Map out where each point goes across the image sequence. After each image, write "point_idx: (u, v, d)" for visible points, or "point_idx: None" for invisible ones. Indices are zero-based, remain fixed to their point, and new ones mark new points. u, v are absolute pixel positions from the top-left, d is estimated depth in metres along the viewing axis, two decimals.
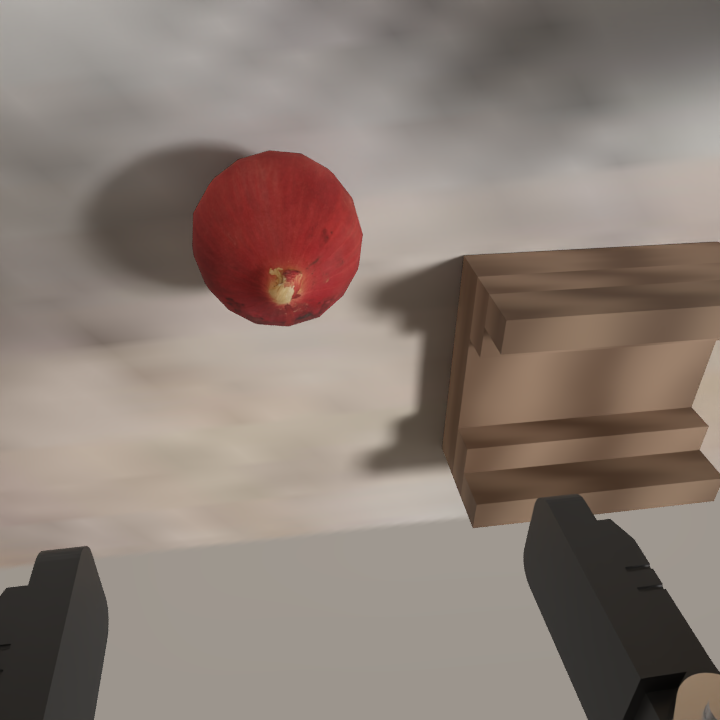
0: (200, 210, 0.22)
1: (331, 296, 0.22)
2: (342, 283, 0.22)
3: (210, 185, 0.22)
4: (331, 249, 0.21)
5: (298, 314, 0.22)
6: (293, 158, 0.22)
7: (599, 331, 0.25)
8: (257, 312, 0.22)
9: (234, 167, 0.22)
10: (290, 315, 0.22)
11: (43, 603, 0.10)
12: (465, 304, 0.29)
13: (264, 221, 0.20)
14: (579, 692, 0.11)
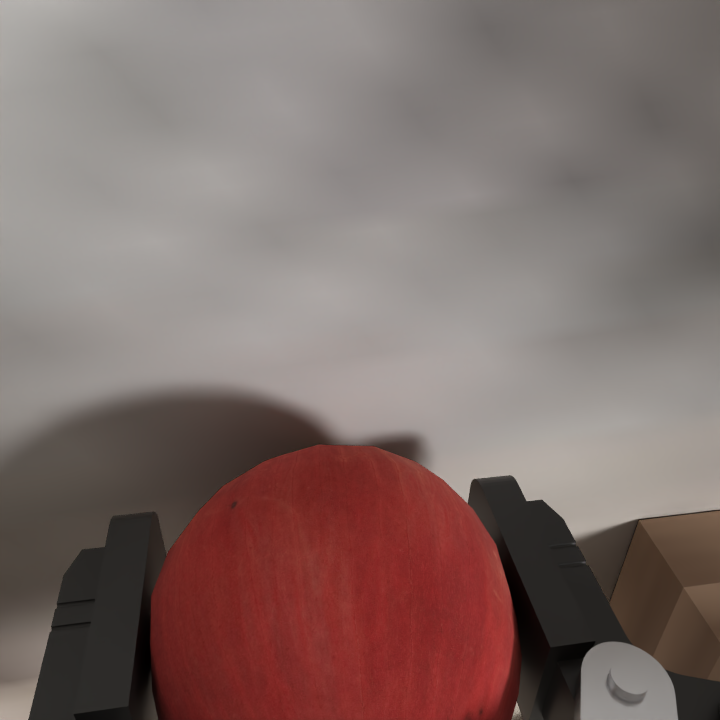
0: (164, 620, 0.09)
1: None
2: None
3: (187, 559, 0.10)
4: None
5: None
6: (379, 500, 0.09)
7: None
8: None
9: (243, 527, 0.09)
10: None
11: (121, 561, 0.11)
12: (639, 600, 0.17)
13: None
14: None
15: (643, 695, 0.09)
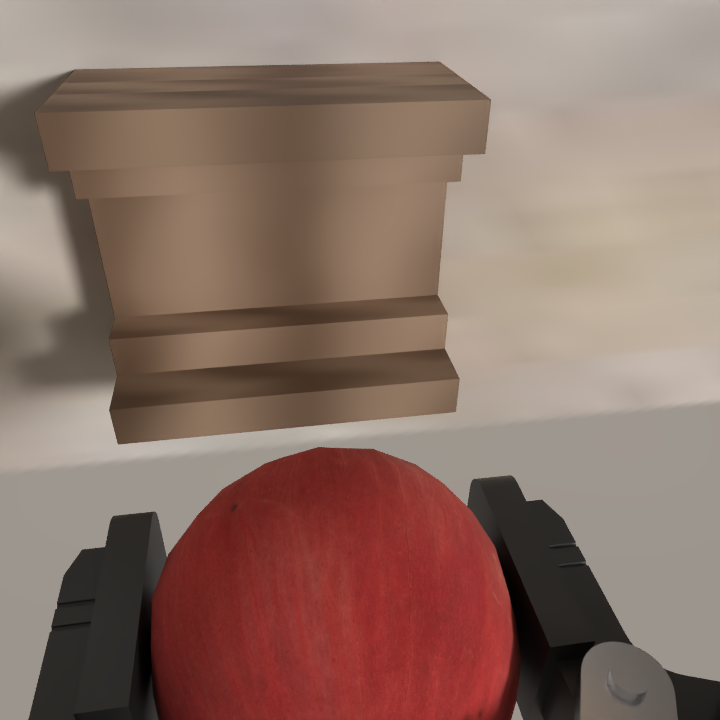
0: (165, 623, 0.09)
1: None
2: None
3: (188, 561, 0.10)
4: None
5: None
6: (379, 503, 0.09)
7: (191, 138, 0.18)
8: None
9: (243, 530, 0.09)
10: None
11: (121, 561, 0.11)
12: None
13: None
14: None
15: (643, 695, 0.09)
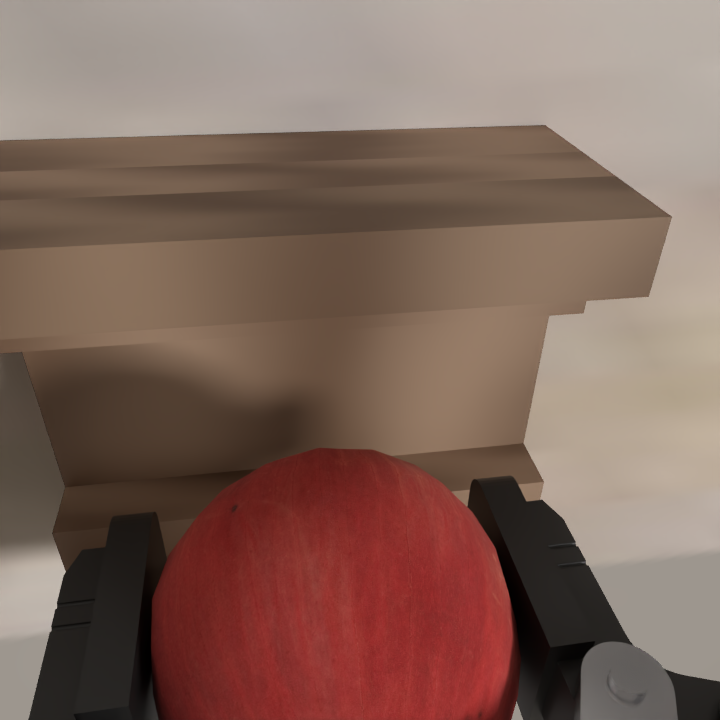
0: (165, 623, 0.09)
1: None
2: None
3: (188, 562, 0.10)
4: None
5: None
6: (379, 504, 0.09)
7: (168, 288, 0.10)
8: None
9: (243, 531, 0.09)
10: None
11: (121, 561, 0.11)
12: None
13: None
14: None
15: (643, 695, 0.09)
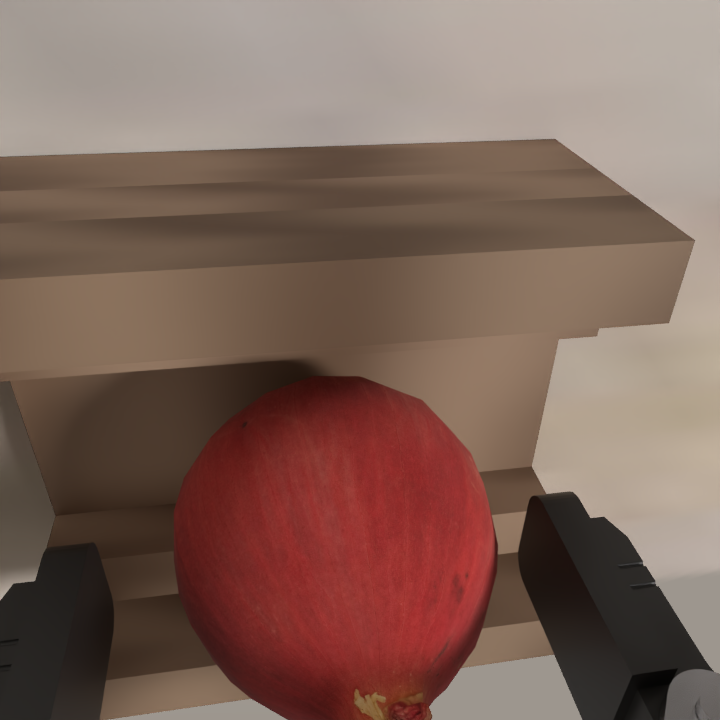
0: (190, 525, 0.11)
1: None
2: None
3: (207, 471, 0.11)
4: (468, 610, 0.10)
5: None
6: (371, 410, 0.11)
7: (160, 318, 0.10)
8: None
9: (255, 438, 0.11)
10: None
11: (50, 598, 0.10)
12: None
13: (336, 588, 0.09)
14: (571, 689, 0.11)
15: None
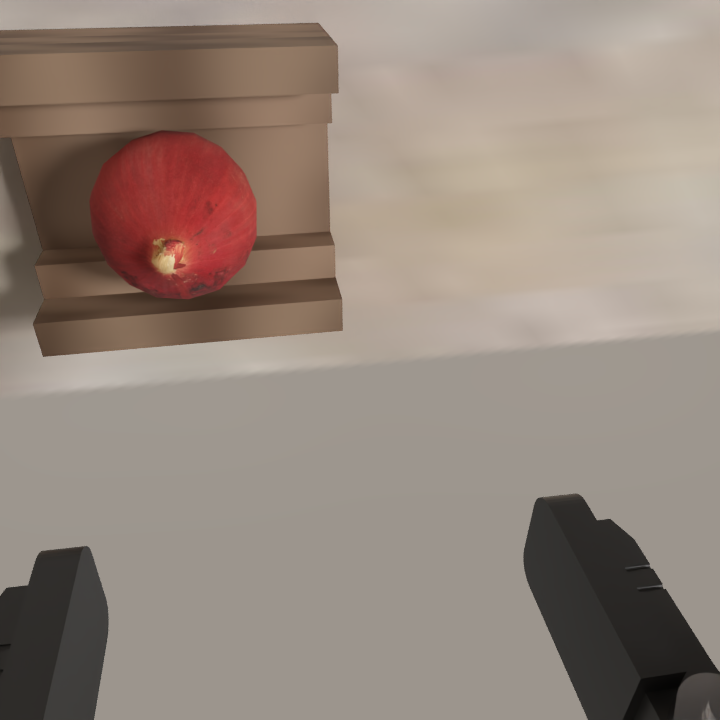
0: (94, 188, 0.23)
1: (222, 267, 0.23)
2: (233, 255, 0.23)
3: (104, 164, 0.23)
4: (216, 221, 0.22)
5: (190, 285, 0.23)
6: (182, 136, 0.23)
7: (83, 78, 0.22)
8: (149, 283, 0.22)
9: (125, 146, 0.23)
10: (182, 286, 0.23)
11: (43, 603, 0.10)
12: None
13: (148, 195, 0.21)
14: (579, 692, 0.11)
15: None
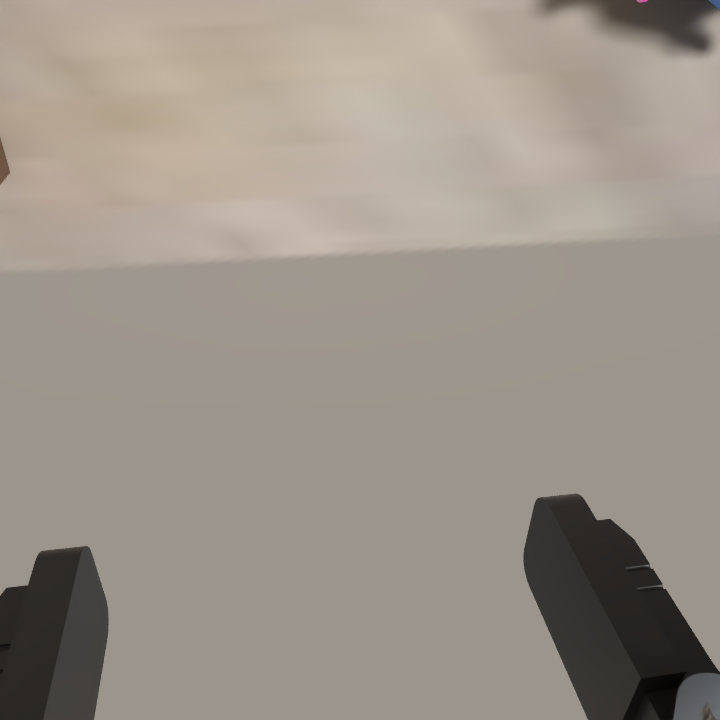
0: None
1: None
2: None
3: None
4: None
5: None
6: None
7: None
8: None
9: None
10: None
11: (43, 603, 0.10)
12: None
13: None
14: (579, 693, 0.11)
15: None
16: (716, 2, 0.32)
